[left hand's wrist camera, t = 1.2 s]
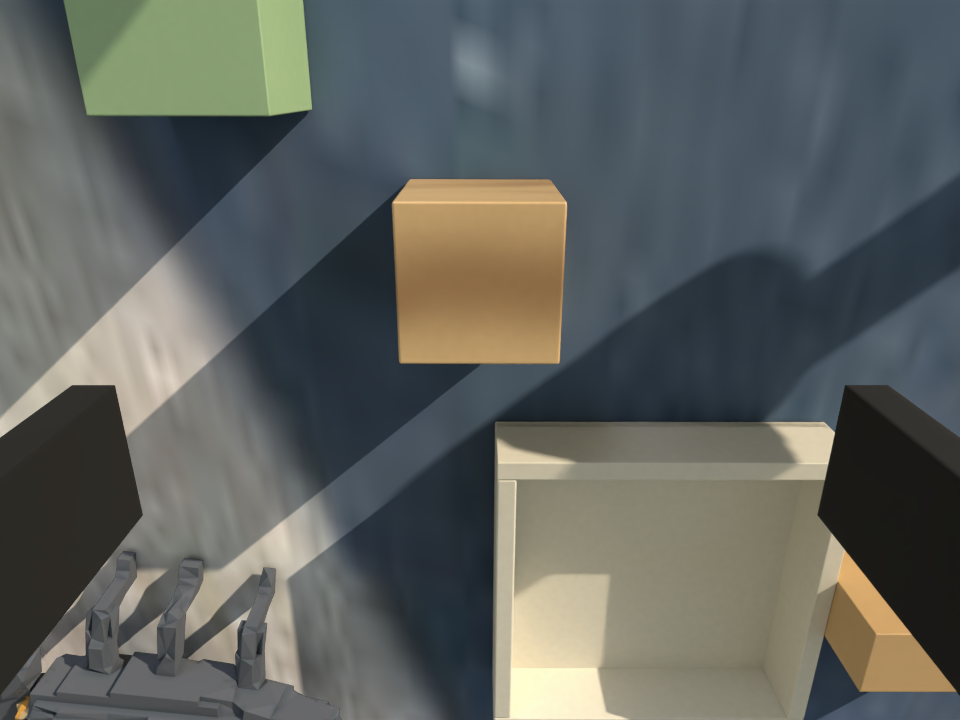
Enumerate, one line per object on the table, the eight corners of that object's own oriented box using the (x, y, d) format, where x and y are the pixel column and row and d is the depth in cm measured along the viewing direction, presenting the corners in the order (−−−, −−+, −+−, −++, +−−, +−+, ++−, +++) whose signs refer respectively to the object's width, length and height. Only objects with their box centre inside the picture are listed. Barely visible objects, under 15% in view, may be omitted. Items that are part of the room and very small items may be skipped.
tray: (495, 421, 30) (498, 506, 24) (1139, 422, 30) (1306, 507, 24) (492, 670, 36) (494, 791, 30) (1038, 671, 36) (1153, 792, 30)
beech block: (408, 179, 26) (391, 201, 21) (550, 179, 26) (567, 202, 21) (413, 314, 28) (399, 364, 23) (545, 314, 28) (559, 364, 23)
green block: (137, -61, 23) (42, -102, 18) (298, -61, 23) (247, -102, 18) (165, 109, 26) (86, 116, 20) (312, 110, 26) (270, 116, 20)
